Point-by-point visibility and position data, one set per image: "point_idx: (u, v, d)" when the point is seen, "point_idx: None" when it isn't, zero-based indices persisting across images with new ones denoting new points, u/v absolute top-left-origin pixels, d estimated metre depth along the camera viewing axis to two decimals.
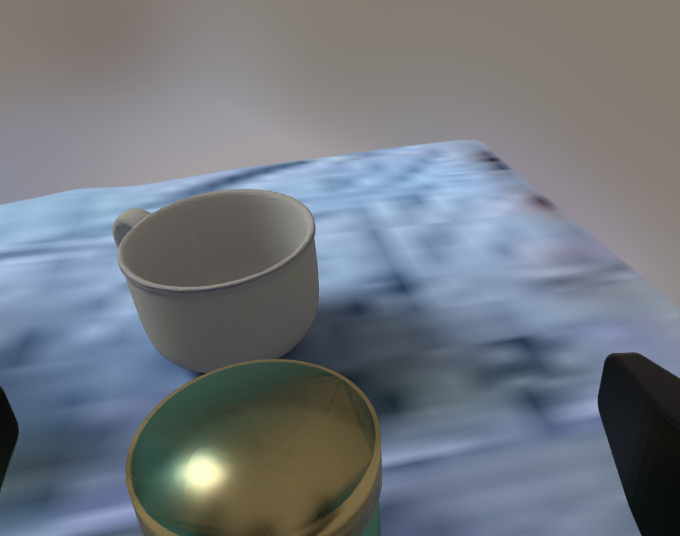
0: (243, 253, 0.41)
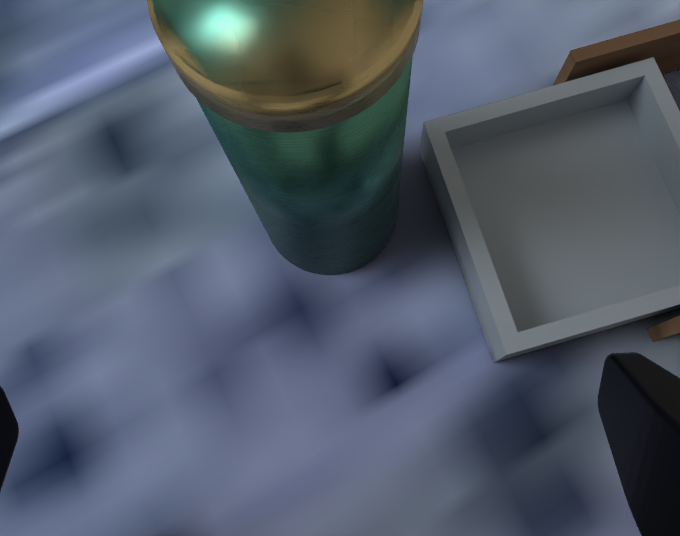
0: None
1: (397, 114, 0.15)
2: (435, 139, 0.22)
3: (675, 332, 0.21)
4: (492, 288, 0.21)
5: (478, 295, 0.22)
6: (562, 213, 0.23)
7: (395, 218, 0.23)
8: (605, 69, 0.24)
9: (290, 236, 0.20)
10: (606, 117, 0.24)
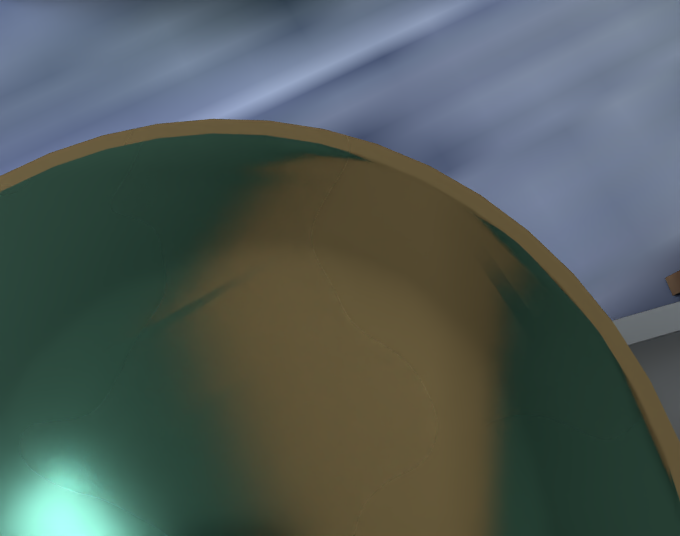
0: None
1: None
2: None
3: None
4: None
5: None
6: None
7: None
8: None
9: None
10: None
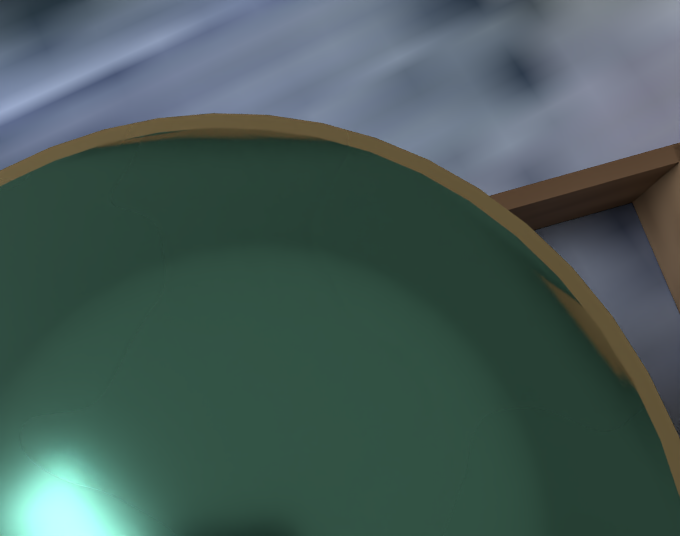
0: None
1: None
2: None
3: None
4: None
5: None
6: None
7: None
8: None
9: None
10: None
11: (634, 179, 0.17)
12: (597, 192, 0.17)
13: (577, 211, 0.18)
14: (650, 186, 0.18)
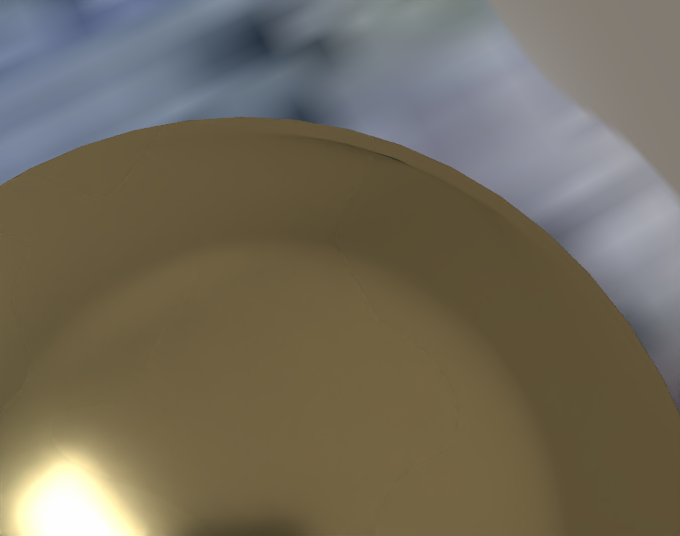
0: None
1: None
2: None
3: None
4: None
5: None
6: None
7: None
8: None
9: None
10: None
11: None
12: None
13: None
14: None
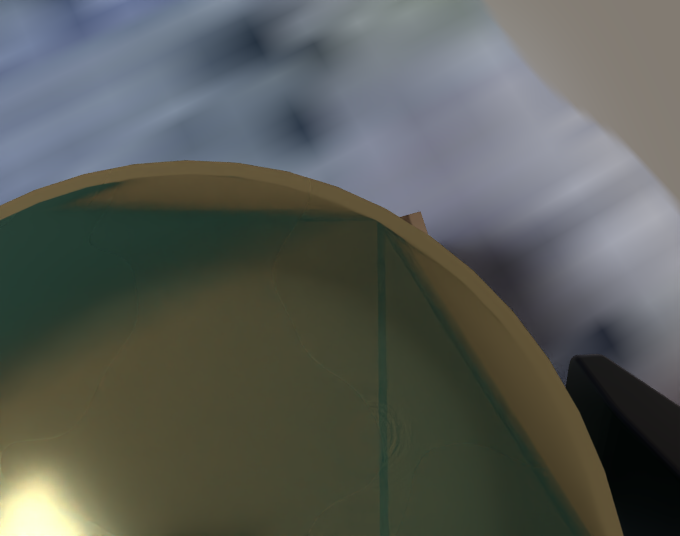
0: None
1: None
2: None
3: None
4: None
5: None
6: None
7: None
8: None
9: None
10: None
11: None
12: None
13: None
14: None
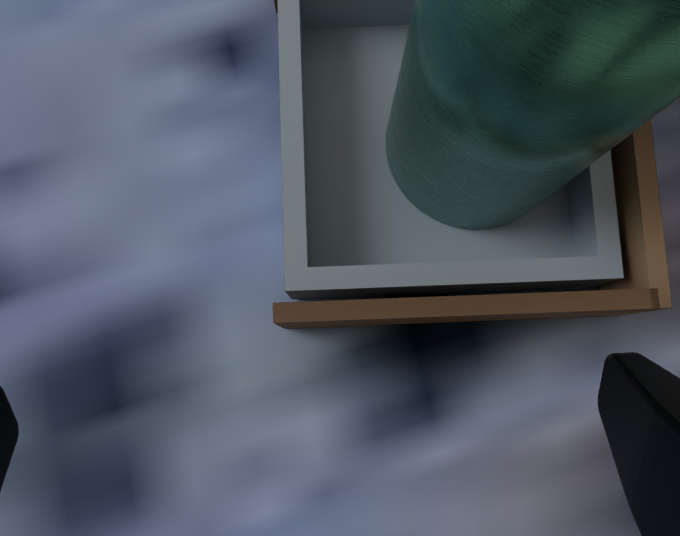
0: None
1: None
2: (284, 3, 0.17)
3: None
4: (294, 206, 0.16)
5: None
6: None
7: None
8: None
9: (448, 168, 0.14)
10: None
11: None
12: None
13: None
14: None
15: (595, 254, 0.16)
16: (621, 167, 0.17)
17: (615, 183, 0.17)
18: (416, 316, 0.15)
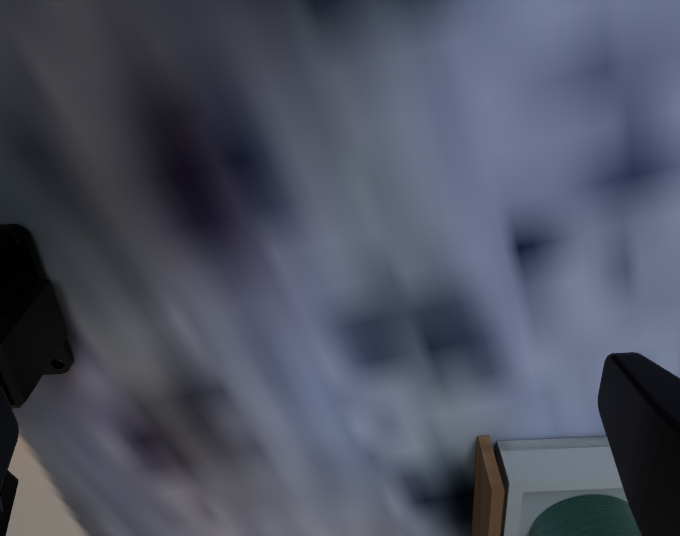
0: None
1: None
2: None
3: (486, 467, 0.26)
4: (563, 485, 0.26)
5: (558, 461, 0.26)
6: None
7: None
8: None
9: None
10: None
11: None
12: None
13: None
14: None
15: None
16: None
17: None
18: None
